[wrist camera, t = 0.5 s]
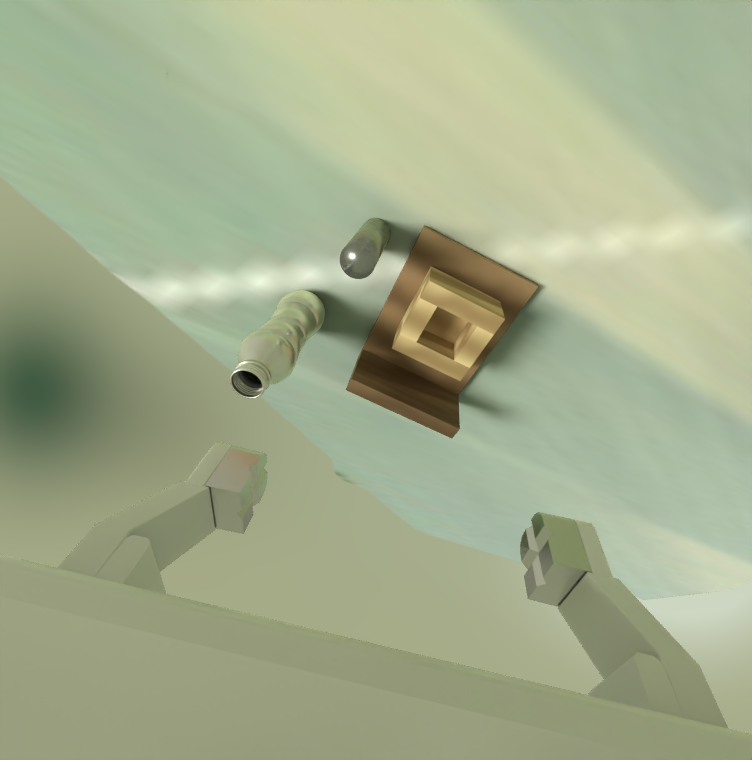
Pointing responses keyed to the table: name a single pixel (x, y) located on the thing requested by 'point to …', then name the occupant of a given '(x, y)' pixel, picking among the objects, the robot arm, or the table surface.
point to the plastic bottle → (277, 344)
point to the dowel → (365, 249)
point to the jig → (410, 377)
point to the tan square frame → (448, 324)
